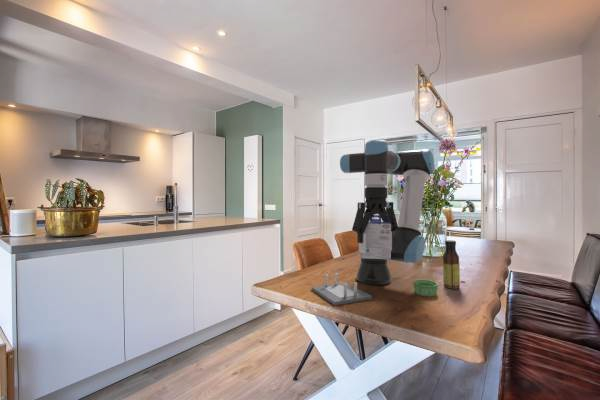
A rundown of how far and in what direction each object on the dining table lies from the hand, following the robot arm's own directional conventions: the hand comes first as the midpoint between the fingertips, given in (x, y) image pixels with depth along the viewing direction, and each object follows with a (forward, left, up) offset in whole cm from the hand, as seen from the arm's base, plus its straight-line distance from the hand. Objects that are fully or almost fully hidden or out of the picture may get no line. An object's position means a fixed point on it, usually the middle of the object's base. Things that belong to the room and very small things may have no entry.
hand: (375, 251), depth 98 cm
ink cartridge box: (0, 0, -3) cm, 3 cm away
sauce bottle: (-44, -5, -20) cm, 49 cm away
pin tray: (+4, -16, -20) cm, 26 cm away
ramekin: (-28, -4, -20) cm, 35 cm away
